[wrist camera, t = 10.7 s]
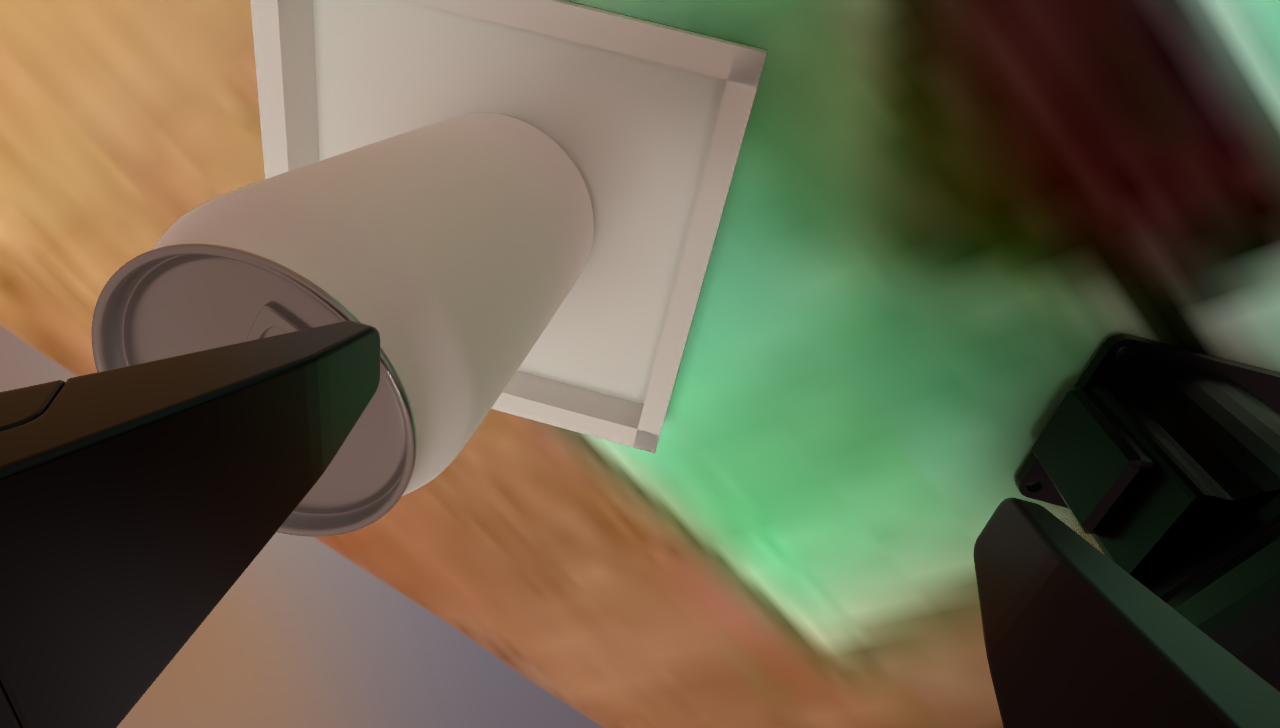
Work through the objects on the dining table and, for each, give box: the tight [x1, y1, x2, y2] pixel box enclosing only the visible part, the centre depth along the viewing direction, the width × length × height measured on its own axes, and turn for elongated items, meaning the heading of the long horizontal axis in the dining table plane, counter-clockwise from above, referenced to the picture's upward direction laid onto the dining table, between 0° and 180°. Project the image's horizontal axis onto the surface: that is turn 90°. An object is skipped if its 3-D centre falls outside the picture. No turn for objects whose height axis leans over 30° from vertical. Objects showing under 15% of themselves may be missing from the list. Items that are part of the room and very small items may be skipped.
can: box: [92, 113, 594, 536], centre depth 16 cm, size 6×6×12 cm
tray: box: [250, 0, 767, 453], centre depth 21 cm, size 14×13×2 cm
